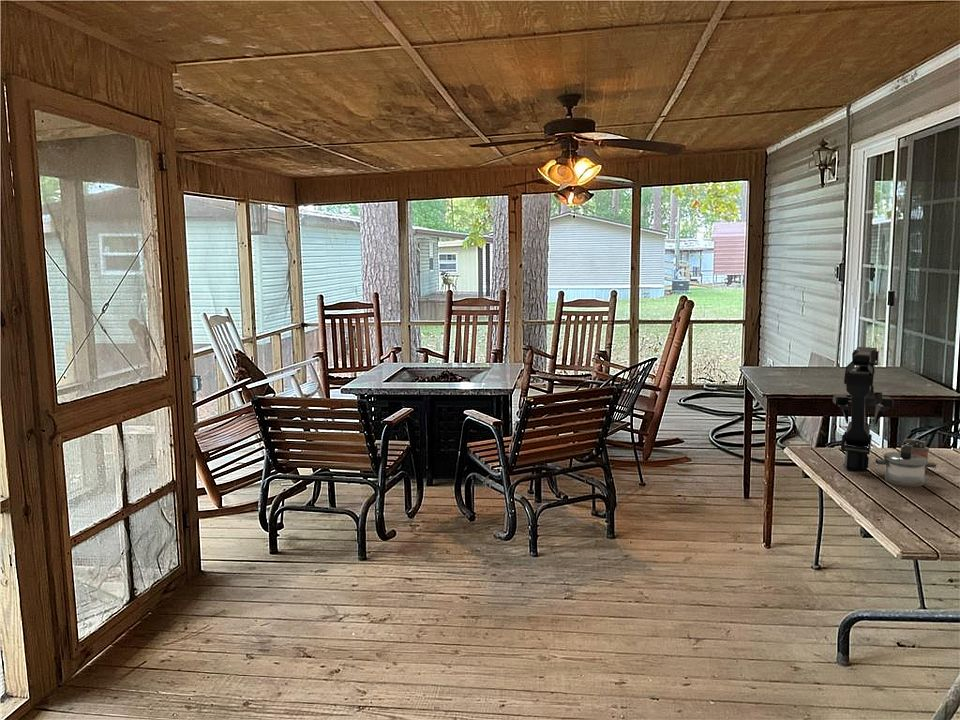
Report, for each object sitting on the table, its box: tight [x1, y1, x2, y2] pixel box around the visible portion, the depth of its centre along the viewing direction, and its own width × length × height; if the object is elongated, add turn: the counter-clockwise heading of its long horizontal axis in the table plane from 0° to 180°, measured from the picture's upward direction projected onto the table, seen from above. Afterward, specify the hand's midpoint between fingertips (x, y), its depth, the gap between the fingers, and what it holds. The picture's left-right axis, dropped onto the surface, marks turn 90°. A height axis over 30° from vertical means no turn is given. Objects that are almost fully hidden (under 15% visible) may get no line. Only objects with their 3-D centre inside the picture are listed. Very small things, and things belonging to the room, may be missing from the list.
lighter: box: [904, 438, 930, 471], centre depth 243 cm, size 8×3×10 cm, turn 56°
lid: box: [883, 444, 929, 466], centre depth 228 cm, size 12×12×5 cm
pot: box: [875, 458, 937, 488], centre depth 229 cm, size 17×11×7 cm, turn 75°
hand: (861, 424), depth 252 cm, fingers open, 9 cm apart
